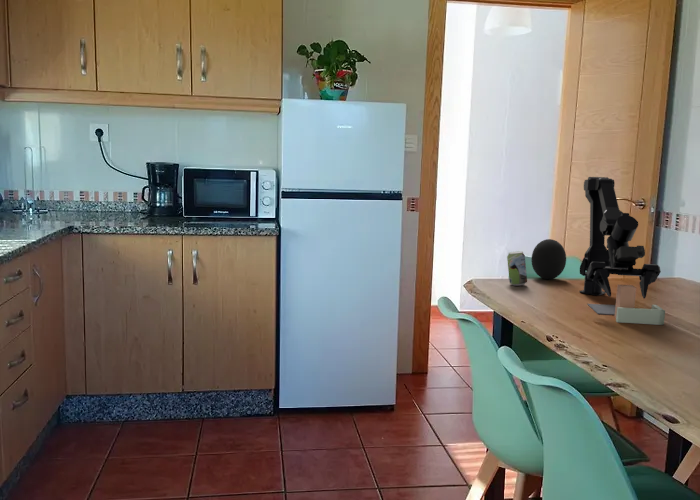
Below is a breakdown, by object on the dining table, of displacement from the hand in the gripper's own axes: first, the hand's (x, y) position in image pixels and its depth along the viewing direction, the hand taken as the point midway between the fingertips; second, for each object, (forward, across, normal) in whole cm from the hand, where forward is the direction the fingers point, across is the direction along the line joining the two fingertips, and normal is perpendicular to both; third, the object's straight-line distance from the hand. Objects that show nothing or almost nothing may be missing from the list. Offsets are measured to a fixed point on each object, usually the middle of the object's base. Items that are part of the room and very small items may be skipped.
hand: (627, 296), depth 171 cm
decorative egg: (-36, -11, +46) cm, 59 cm away
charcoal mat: (-3, 0, +13) cm, 13 cm away
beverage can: (-26, -24, +35) cm, 50 cm away
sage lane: (+4, +3, +5) cm, 7 cm away
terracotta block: (+4, 0, +6) cm, 7 cm away
